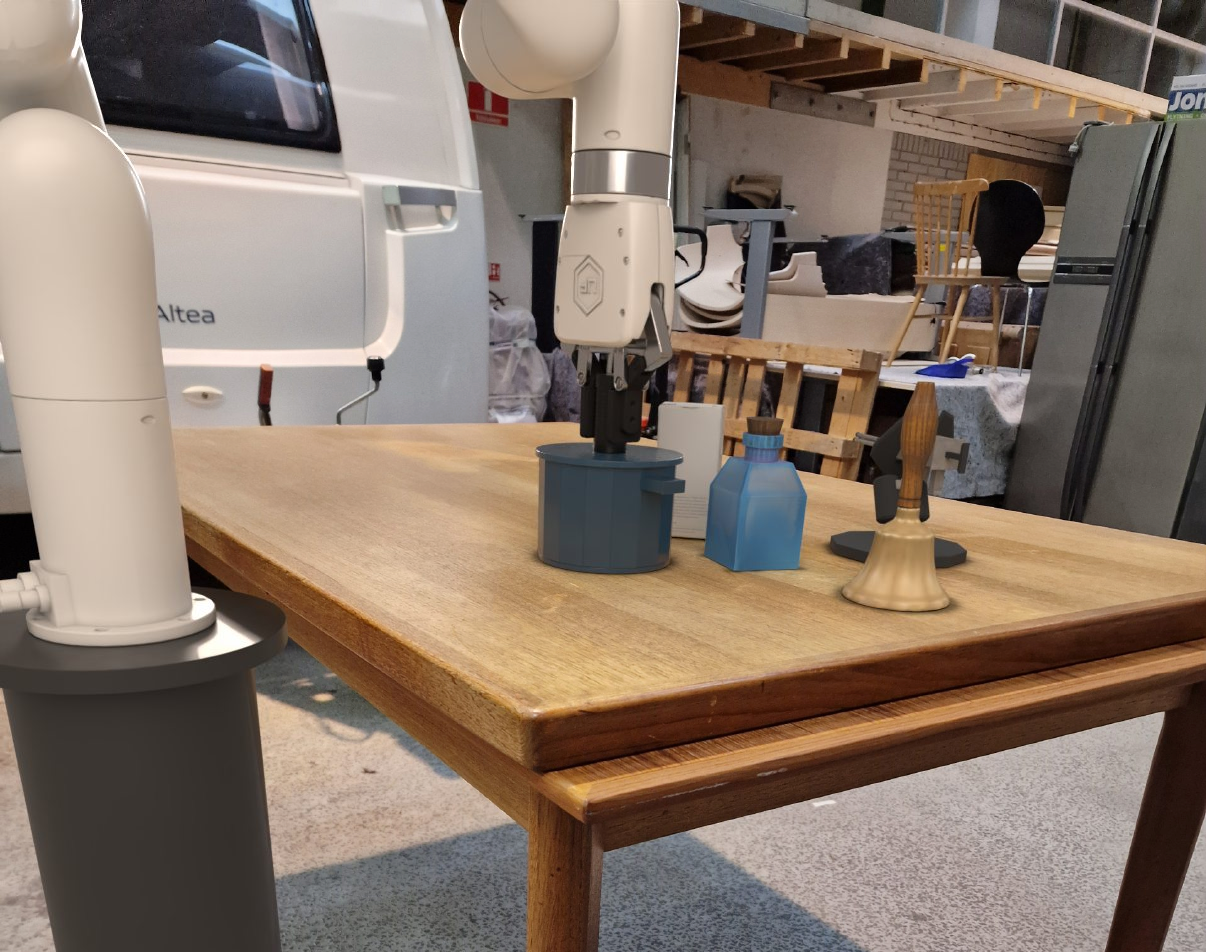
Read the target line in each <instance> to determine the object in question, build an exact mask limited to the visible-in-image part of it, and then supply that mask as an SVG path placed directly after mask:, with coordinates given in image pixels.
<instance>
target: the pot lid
mask: <svg viewBox="0 0 1206 952" xmlns="http://www.w3.org/2000/svg"><path fill="white" fill-rule="evenodd" d="M609 390H616V389H615V387H614V372H612V373H597V374H596V384H595V410H594V436H593V438H592V439H593V440H592V442H590V441H589V442H585V441H584V442H579V441H578V442H557V443H546V444H542V445H539V446H536V447H535V450H534V454H535V456H536V457H537V458H538V459H539V458H541V459H544V460H548V461H552V462H558V463H564V464H571V465H580V466H591V467H607V468H659V467H669V466H675V465H679V464H681V463H683V459H684V456H683V454H681V453H679V452H676V451H673V450H669V449H663V448H657V446H650V445H641V444H632V443H609V442H608V441H607V438H606V435H607V410H608V394H609Z"/></svg>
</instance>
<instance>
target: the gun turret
mask: <svg viewBox="0 0 1206 952" xmlns="http://www.w3.org/2000/svg"><path fill="white" fill-rule="evenodd" d="M903 418H904V415H903V416H902V417H900V418H899V420H897V421H896V422H895V423H894V424H893V425H891V427H889V428H888V429H887V430H886V431H885V432H884V433H883V434H882V435H881V436H875V435H870V434H866V433H862V432H859V431H856V432H855V437H853V438H852V442H853V443H857V444H858V443H859V444H862V445H865V446H870V447H871V451H870V453H869V456H870V457H871V459H872V460H873V462H874V464H875V465H876V466H877V467H878V469H879V470H880V472H881V473H882V475H881V476H878V477H876V478H875V479H874V480H873V481H872V488H873V500H874V511H875V512H874V513H875V522H877V523H878V524H880V525H883V524H886V523H888V522H890V521H891V520H893V519H894V518H895V516H896V513H897V508H898V504H897V502H898V499H899V498H900V497H899V492H900V487H901V481H902V475H903V461H902V455H901V430H902V422H903ZM970 447H971V443H970V442H967V439H966V438H963V439H962V438H955V416H954V414H953V413H951V412H949V411H947V410H945V409H942V411H941V412H940V414H939V415H938V428H937V435H936V439H935V443H934V447H933V450H932V452H931V455H930V457H929V459H928V462H927V464H926V467H925V470H924V474H923V481H922V491H921V498H920V501H921V504H920V507H919V508H920V513H919V520H920V521H921V523H925V522H926V521H928V520H929V519H930V518H931V513H930V503H929V501H930V500H929V494H931V495H942V493H943V490H942V489H943V484H944V479H945V473H946V471H956V472H957V474H959V475H960V474H961V475H963V474H965V473H966V469H967V463H968V457H969V453H970ZM928 481H929V485H928ZM875 531H876V530H849V531H844V532H840V533H836V534H833V535H830V539H829V547H830V548H831V550H832V551H833V554H835V555H838V556H840V557H845V558H848V559H851V560H855V561H858V562H863V563H865V562H866V560H867V557H868V555H869V552H870V549H871V546H872V543H873V539H874V535H875ZM967 556H968V550H967V549H966V548H965V547H963V546H962V545H961V544H960V543H958V542H955V541H952V540H947V539H944V538H940V537H935V539H934V562H935V568H951V567H954V566H956V565H959V564H962V563H965V562H966V560H967Z"/></svg>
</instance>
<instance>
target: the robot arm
mask: <svg viewBox="0 0 1206 952" xmlns="http://www.w3.org/2000/svg"><path fill="white" fill-rule="evenodd" d="M680 21H681V11H680V4H679V1H678V0H466V2H465V5H464V7H463V10H462V13H461V17H460V21H459V22H460V23H459V33H458V34H459V45H460V50H461V54H462V56H463V59H464V61H465V64H466V66H467V68H468V70H469V72H470V73H471V74H472V76H473V77H474V79H476V80H477V81H478V82H479V83H480V84H481V85H482V86H483V87H484V88H485V89H487V90H488V91H490V92H491V93H493V94H496V95H498V96H500V97H504V98H507V99H512V100H541V99H571V100H572V105H573V106H572V137H571V139H572V142H571V143H572V144H571V154H572V155H571V181H570V183H571V184H570V185H571V187H570V205H566V207H565V213H564V217H563V222H562V227H561V233H560V239H559V247H558V255H557V265H556V279H555V289H554V310H553V329H554V334H555V337H556V338H557V340H559V341H560V343H559V345H560V349H561V350H562V352H564V354H565V355H566V356H567V357H568V358H569V359H570V360H571V362H572V364H573V366H574V369H575V371H576V383H577V385H578V386H579V387H580V407H579V408H580V409H579V411H580V412H579V436H580V437H581V438H583V439H593V436H594V410H595V384H596V374H597V373H614V387H615V389H616V390H609V394H608V410H607V435H606V438H607V441H608V442H609V443H627V444H632V443H639V442H640V441H641V438H642V423H643V422H642V421H643V402H644V392H646V391H647V390H648V389H649V387H650V379H651V378H652V376H653V375H654V374H655V372H656V371H657V369H658V368H660V367H661V366H663V365H664V364H666V363H667V362H668V361H670V360H671V359H672V357H673V353H674V352H673V351H674V350H673V346H672V342H671V334H672V329H673V320H674V309H675V281H676V280H675V279H676V278H675V275H676V268H675V267H676V265H675V264H676V263H675V235H674V223H673V222H674V221H673V213H672V207H671V206H670V192H671V177H672V176H671V175H672V158H673V144H674V129H675V114H676V113H675V112H676V111H675V109H676V94H677V77H678V63H679V61H678V60H679V45H680V29H681V22H680ZM82 25H83V11H82V2H81V0H0V345H1V351H2V356H3V361H4V367H5V374H6V378H7V384H8V390H9V395H10V397H11V402H12V403H11V404H12V409H13V413H14V419H15V423H16V424H15V425H16V431H17V436H18V437H17V438H18V441H19V442H18V443H19V447H20V452H21V459H22V464H23V470H24V476H25V481H26V486H27V492H28V498H29V503H30V510H31V516H32V520H33V525H34V533H35V537H36V543H37V548H38V553H39V559H33V560H29V562H28V563H29V569H30V571H26V572H18V573H17V575H16V578H11V579H2V580H0V612H1V613H4V612H13V611H21V610H22V609H30V610H29V611H28V612H27V614H26V621H27V626H28V630H29V632H30V633H32V634H33V635H34V636H35V637H38V638H40V639H42V640H45V641H49V642H53V643H58V644H64V645H72V646H86V647H118V646H133V645H144V644H152V643H159V642H165V641H170V640H175V639H179V638H183V637H186V636H190V635H193V634H196V633H198V632H201V631H203V630H205V629H207V628H208V627H210V626H211V625H212V624H213V623H214V622H215V621H216V617H217V616H216V609H215V604H214V603H213V602H212V600H210V599H208V598H207V597H205V596H202V595H199V594H196V593H192V592H191V586H192V585H191V578H190V570H189V561H188V554H187V553H188V552H187V545H186V537H185V529H184V520H183V511H182V504H181V496H180V495H181V494H180V488H179V478H178V469H177V462H176V461H177V460H176V454H175V446H174V437H173V429H172V420H171V411H170V405H169V404H170V403H169V396H168V390H167V382H166V381H167V380H166V373H165V365H164V364H165V363H164V357H163V347H162V337H161V327H160V317H159V316H160V315H159V305H158V304H159V303H158V292H157V291H158V290H157V275H156V274H157V273H156V255H155V254H156V253H155V243H154V233H153V222H152V218H151V212H150V207H149V203H148V199H147V195H146V192H145V189H144V186H143V184H142V182H141V180H140V177H139V175H138V172H137V171H136V169H135V167H134V166H133V164H132V162H131V161H130V159H129V157H128V156H127V155H126V153H125V152H124V151H123V149H122V148H121V147H120V146H119V145H118V144H117V143H116V142H115V141H114V140H113V139H112V138H111V137H110V136H109V133H108V130H107V127H106V124H105V120H104V116H103V114H102V110H101V107H100V103H99V100H98V97H97V93H96V90H95V86H94V83H93V79H92V77H91V73H90V70H89V66H88V62H87V59H86V55H85V52H84V48H83V45H82V40H81V35H82ZM596 354H598V355H599V356H598V357H597V355H596ZM629 357H633V358H632V360H631V361H630V363H629ZM612 371H613V372H612Z"/></svg>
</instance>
